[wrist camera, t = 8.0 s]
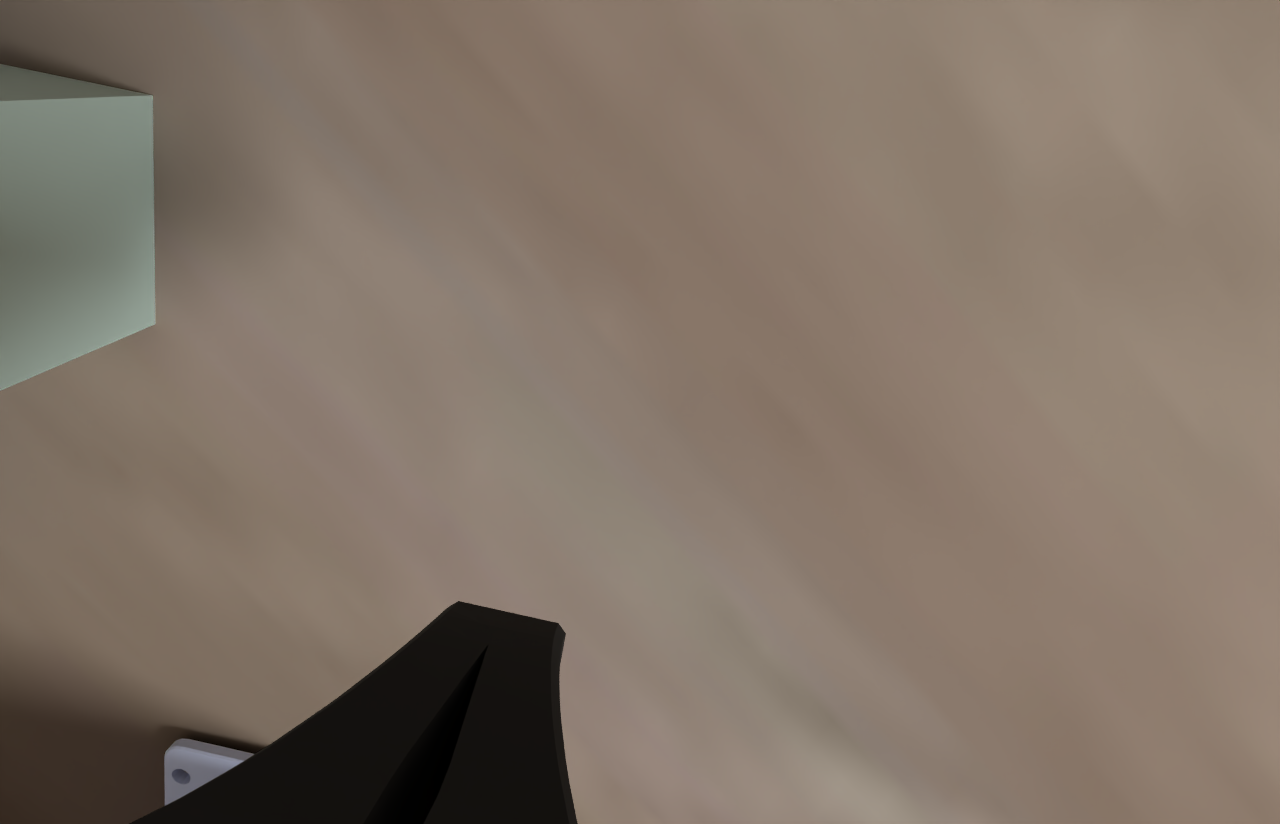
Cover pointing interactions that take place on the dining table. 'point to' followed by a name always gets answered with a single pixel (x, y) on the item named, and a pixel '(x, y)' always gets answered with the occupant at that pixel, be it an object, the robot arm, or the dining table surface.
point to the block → (72, 219)
